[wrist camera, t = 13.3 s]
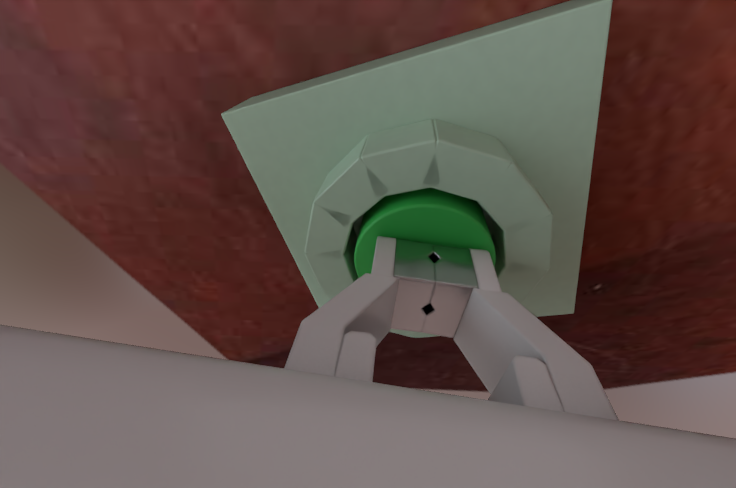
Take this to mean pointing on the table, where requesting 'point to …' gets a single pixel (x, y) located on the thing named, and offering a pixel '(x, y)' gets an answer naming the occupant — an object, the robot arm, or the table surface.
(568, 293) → the block
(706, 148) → the table surface
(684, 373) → the table surface
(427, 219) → the button
